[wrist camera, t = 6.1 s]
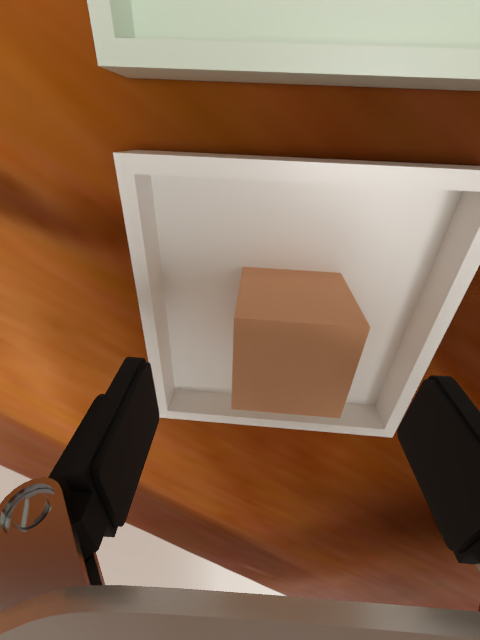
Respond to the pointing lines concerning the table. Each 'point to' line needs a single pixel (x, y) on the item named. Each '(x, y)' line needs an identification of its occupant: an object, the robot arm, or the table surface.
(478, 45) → the green tray
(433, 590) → the table surface
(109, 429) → the robot arm
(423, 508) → the table surface
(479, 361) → the table surface
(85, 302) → the table surface
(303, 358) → the brown cube
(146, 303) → the white tray
